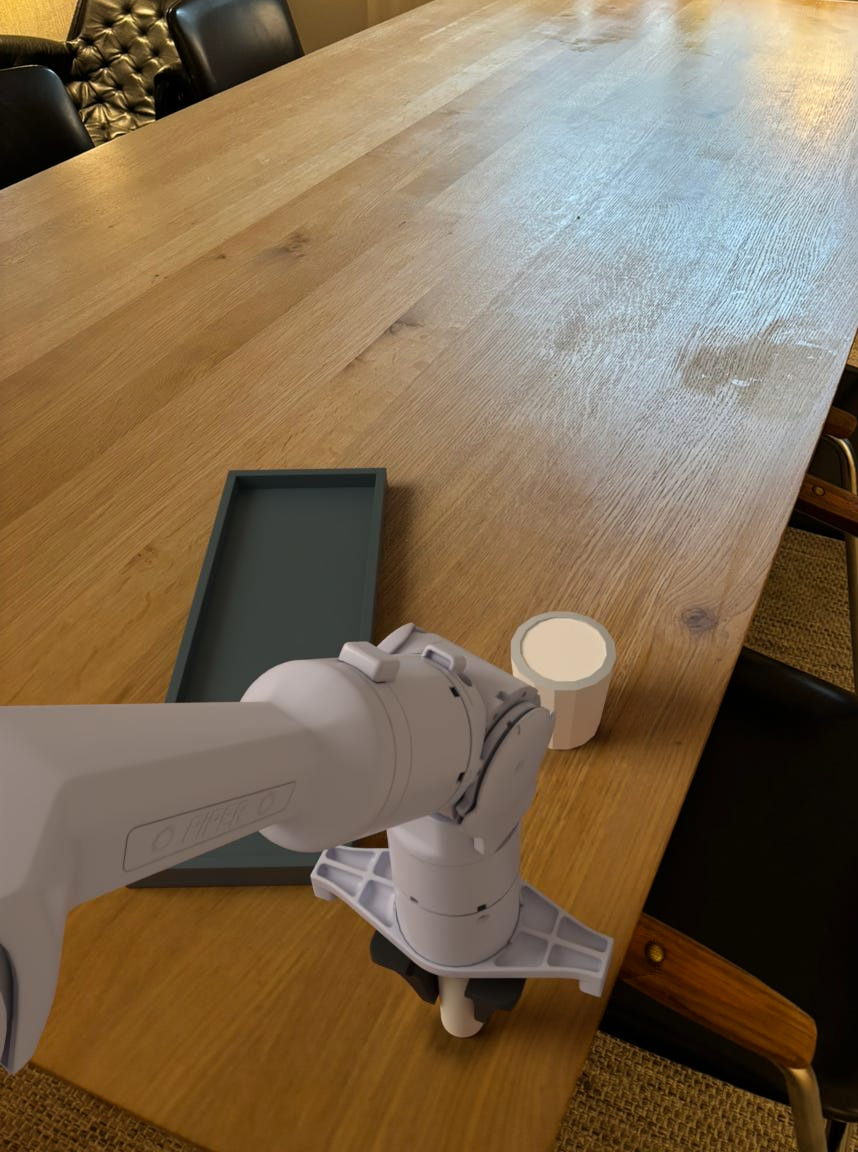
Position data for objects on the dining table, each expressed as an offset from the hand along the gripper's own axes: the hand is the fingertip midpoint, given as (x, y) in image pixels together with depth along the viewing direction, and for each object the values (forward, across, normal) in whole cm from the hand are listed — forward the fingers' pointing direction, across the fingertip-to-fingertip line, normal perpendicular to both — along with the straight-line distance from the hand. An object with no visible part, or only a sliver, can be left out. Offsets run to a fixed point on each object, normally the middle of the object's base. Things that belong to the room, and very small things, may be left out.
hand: (462, 994), depth 54 cm
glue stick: (+2, 0, 0) cm, 2 cm away
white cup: (+3, +1, -21) cm, 21 cm away
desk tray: (+2, +22, -20) cm, 30 cm away
